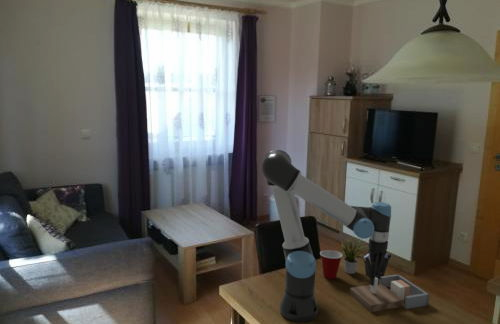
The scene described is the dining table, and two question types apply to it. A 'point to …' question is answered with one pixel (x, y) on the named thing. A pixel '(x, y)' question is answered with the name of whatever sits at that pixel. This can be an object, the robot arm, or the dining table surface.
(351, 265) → the house plant
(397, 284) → the cream tile
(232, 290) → the dining table surface
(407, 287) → the terracotta tile
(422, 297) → the box
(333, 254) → the plastic cup
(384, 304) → the walnut plate
